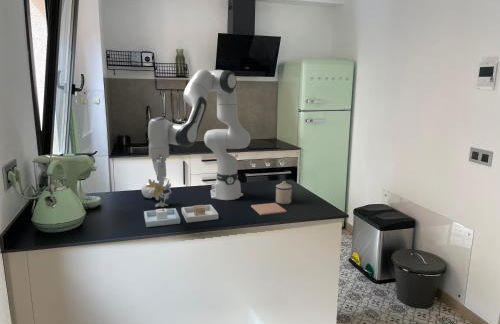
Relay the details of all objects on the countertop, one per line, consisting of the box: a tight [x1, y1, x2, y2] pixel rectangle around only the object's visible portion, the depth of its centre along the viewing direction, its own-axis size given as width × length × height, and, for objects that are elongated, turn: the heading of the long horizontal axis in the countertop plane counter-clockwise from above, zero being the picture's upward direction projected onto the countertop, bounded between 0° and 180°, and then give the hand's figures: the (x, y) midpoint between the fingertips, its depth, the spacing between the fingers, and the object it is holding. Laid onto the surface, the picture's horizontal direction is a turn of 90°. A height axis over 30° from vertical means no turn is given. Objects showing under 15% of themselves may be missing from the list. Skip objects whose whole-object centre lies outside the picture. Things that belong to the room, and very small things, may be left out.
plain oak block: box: [193, 204, 205, 216], centre depth 179 cm, size 4×4×4 cm
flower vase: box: [141, 177, 173, 208], centre depth 201 cm, size 13×18×25 cm
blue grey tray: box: [143, 207, 181, 228], centre depth 173 cm, size 15×15×3 cm
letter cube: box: [155, 208, 167, 220], centre depth 173 cm, size 4×4×5 cm
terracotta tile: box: [250, 202, 287, 216], centre depth 191 cm, size 14×14×1 cm
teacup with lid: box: [275, 180, 293, 205], centre depth 204 cm, size 12×9×12 cm
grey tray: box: [181, 204, 219, 223], centre depth 179 cm, size 15×15×3 cm
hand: (160, 183), depth 170 cm, fingers open, 8 cm apart
